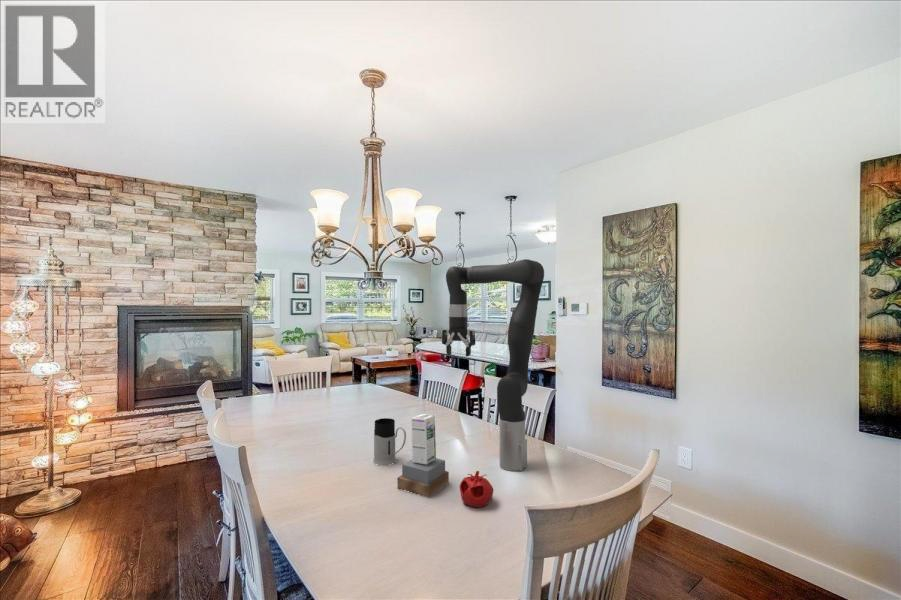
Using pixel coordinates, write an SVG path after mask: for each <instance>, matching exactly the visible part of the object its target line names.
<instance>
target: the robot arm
mask: <svg viewBox="0 0 901 600" xmlns="http://www.w3.org/2000/svg"><path fill="white" fill-rule="evenodd" d="M544 278H545V269H544V266H543V265H542V263H540V262H539V261H535V260H532V259H520V260H516V261H512V262H509V263H504V264H503V263H502V264H494V265H493V264H491V265H490V264H485V265H484V264H483V265H473V266H469V267H463V266H456V265H455V266H450V267H448V269H447V270H446V274H445V280H446V281H445V282H446V286H447V290H448V294H449V306H448V307H449V308H448V326H449V329H443V330H442V333H441V334H442V335H441V344H442V345H444V346H445V350H446V351H445V352H446V354H447V356H451V355H452V343H453V342H456V341H457V342H462V343H463V344H464V345H465V357H470V356H471V354H472V347H473V346H475V345H476V331H475V330H468V321H469V320H468V317H469V316H468V314H469V313H468V296H467V295H468V293H467V292H466V290H464V289H463V288H462V285H470V284H477V285H479V284H492V283H497V282H509V283H514V284H520V285H521V288H520V297H519V300H518V302H517V304H516V306H515V308H514V309H513V312H512V314H511V315H510V319H509V324H508V329H507V345H508V352H509V362H508V368H507V372H506V374H505V376H503V377H502V378H500V379H499V380H498V383H497V387H496V398H497V399H496V400H497V401H496V403H497V411H498V414H499V415H498V416H499V467H500V468H502V469H503V470H506V471H509V472H510V471H512V472H518V471H519V472H522V471H523V470H524V469H525V468H526V467H527V466H528V439H527V438H526V412H525V411H524V409H523V398H522V397H523V396H524V395H525V394H526V392H527V390H528V385H529V384H528V383H529V363H530V357H531V352H532V346H533V340H534V335H535V327H536V318H537V313H538V305H539V298H540V294H541V290H542V287H543V282H544ZM448 336H449V337H448ZM468 336H469V338H468Z"/></svg>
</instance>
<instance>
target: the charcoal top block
mask: <svg viewBox="0 0 901 600" xmlns="http://www.w3.org/2000/svg"><path fill="white" fill-rule="evenodd" d="M401 469H402V471H401V472H402V473H401V475H402V477H404V478H407V479H411V480H414V481H418V482H421V483H425V484H429V483H431V482H432V481H434V480H435V479H437V478H438V477H440V476H441V475H443V474H444V473H445V471H446V460H445V459H440V458H437V457H436V460H434V461H432V462H430V463H428V464H427V465H426V464H420V463H415V462H413V461H412V459H410V460H408V461H406V462H405V463H402V466H401Z"/></svg>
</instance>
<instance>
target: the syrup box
mask: <svg viewBox="0 0 901 600" xmlns="http://www.w3.org/2000/svg"><path fill="white" fill-rule="evenodd" d="M410 421H411V453H412V455H411V457H412V458H411V460H412V461H413V462H415V463H420V464H426V465H427V464H428V463H430V462H432V461H434V460H436V458H437V451H436V449H437V447H436V446H437V443H436V416H435V415H433V414H428V413H427V414H425V413H423V414H422V413H421V414H420V415H416V416H414V417H411V420H410Z"/></svg>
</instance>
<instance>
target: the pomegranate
mask: <svg viewBox="0 0 901 600" xmlns="http://www.w3.org/2000/svg"><path fill="white" fill-rule="evenodd" d="M485 476H486V474H483V475H480V470H476V471H475V474H474V475H473V474H472V473H468V474H467V476H466V477H464V478H463V479H462V481H460V484H459V491H460V497H461V500H462V502H463V503H464V504H465V505H468V506H471V507H474V508H480V507H485V506H487V505H488V503H489V502H491V501H492V498H493V496H494V495H493V494H494V487H493V485H492V484H491V483H490V482H489V480H488V479H487V478H485Z"/></svg>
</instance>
